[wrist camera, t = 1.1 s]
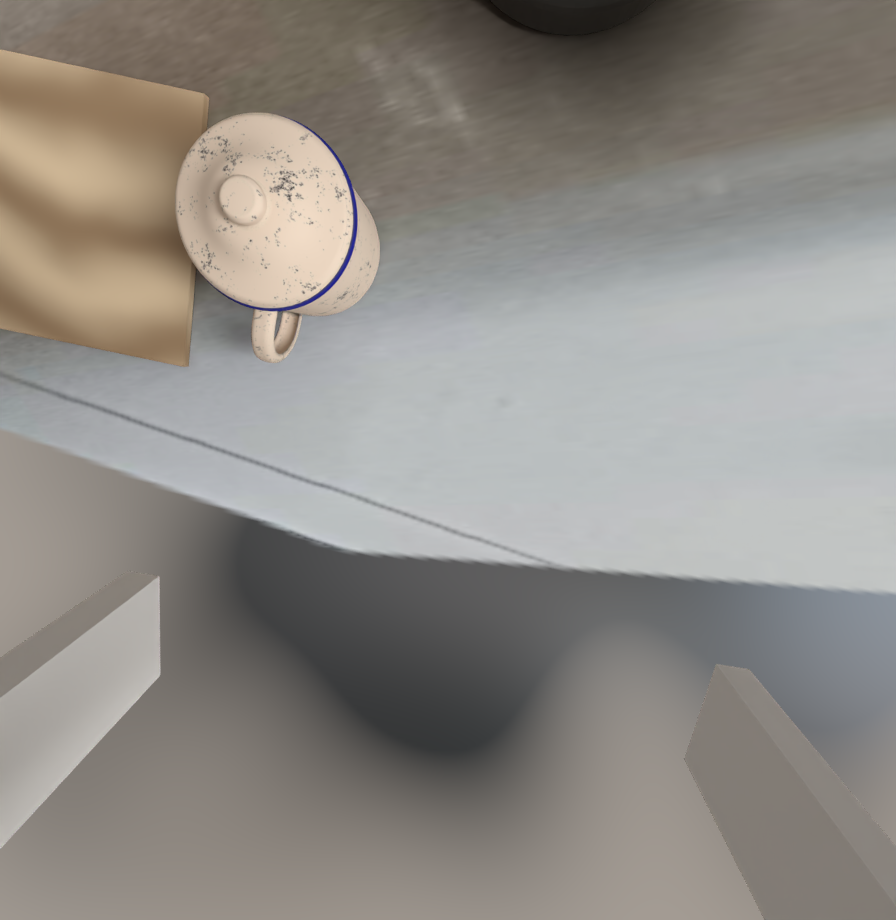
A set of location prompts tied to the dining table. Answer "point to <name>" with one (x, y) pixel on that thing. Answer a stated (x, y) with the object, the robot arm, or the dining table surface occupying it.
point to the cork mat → (95, 208)
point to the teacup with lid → (275, 224)
